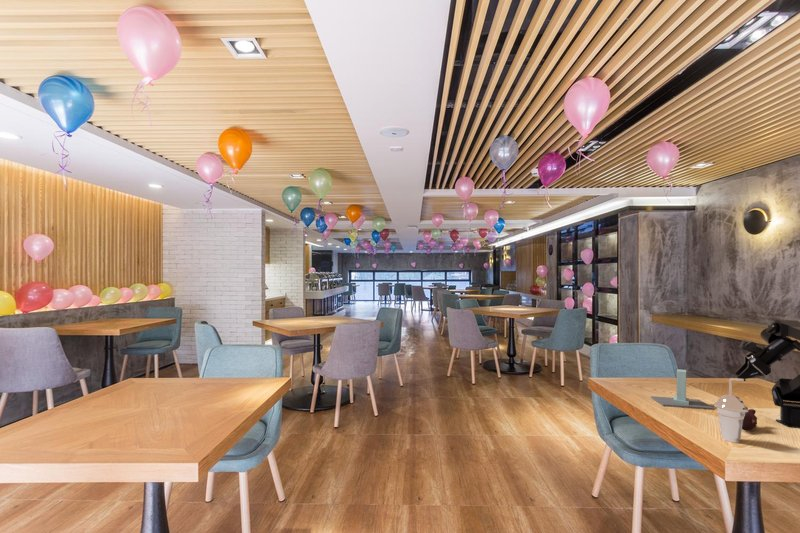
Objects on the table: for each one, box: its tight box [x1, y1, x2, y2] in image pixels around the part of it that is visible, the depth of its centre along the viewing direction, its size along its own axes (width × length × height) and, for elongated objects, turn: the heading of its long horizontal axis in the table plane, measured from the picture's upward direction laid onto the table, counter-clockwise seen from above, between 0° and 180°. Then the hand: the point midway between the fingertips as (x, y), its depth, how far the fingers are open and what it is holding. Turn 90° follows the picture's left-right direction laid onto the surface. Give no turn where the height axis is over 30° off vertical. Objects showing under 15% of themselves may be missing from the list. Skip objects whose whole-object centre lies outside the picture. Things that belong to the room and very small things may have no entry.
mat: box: [650, 395, 716, 411], centre depth 170 cm, size 12×18×1 cm, turn 79°
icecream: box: [742, 408, 758, 431], centre depth 142 cm, size 7×7×15 cm
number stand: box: [673, 368, 690, 405], centre depth 171 cm, size 5×7×12 cm
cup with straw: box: [713, 377, 749, 444], centre depth 132 cm, size 8×9×20 cm
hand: (737, 376), depth 160 cm, fingers open, 9 cm apart
